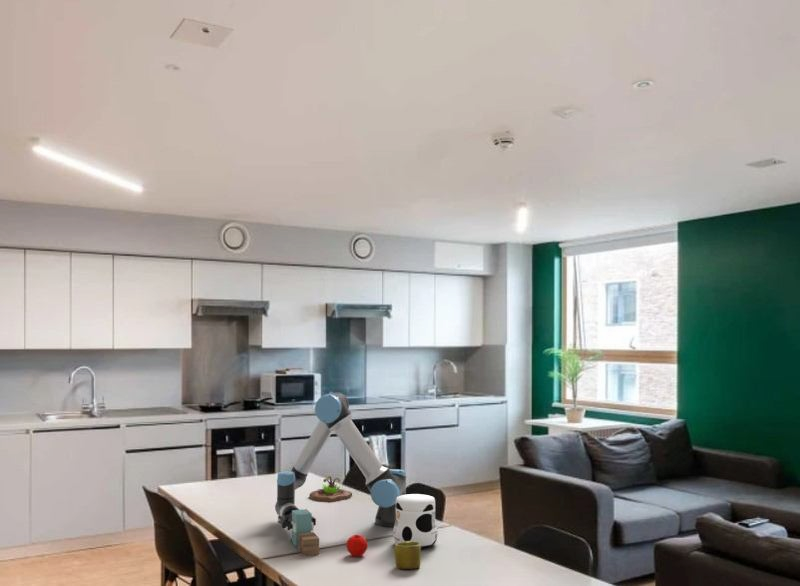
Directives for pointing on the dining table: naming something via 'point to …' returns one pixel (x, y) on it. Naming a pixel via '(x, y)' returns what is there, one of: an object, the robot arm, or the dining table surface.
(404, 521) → the milk container
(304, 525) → the teal pillar
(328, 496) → the plant
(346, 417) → the robot arm
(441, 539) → the dining table surface
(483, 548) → the dining table surface
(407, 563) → the mug
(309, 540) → the brown block
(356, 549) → the apple
